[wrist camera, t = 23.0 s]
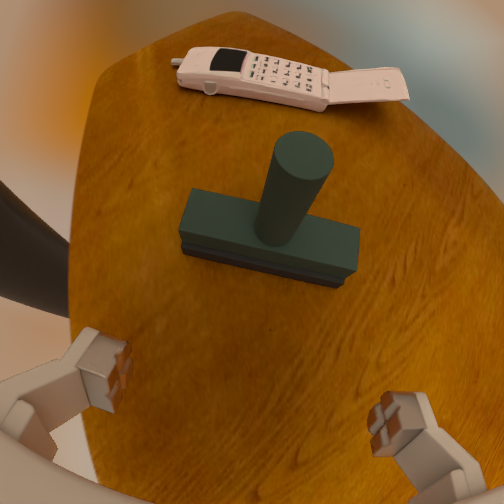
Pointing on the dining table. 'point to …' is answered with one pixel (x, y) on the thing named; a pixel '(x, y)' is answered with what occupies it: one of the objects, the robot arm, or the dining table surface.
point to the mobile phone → (285, 79)
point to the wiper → (276, 221)
